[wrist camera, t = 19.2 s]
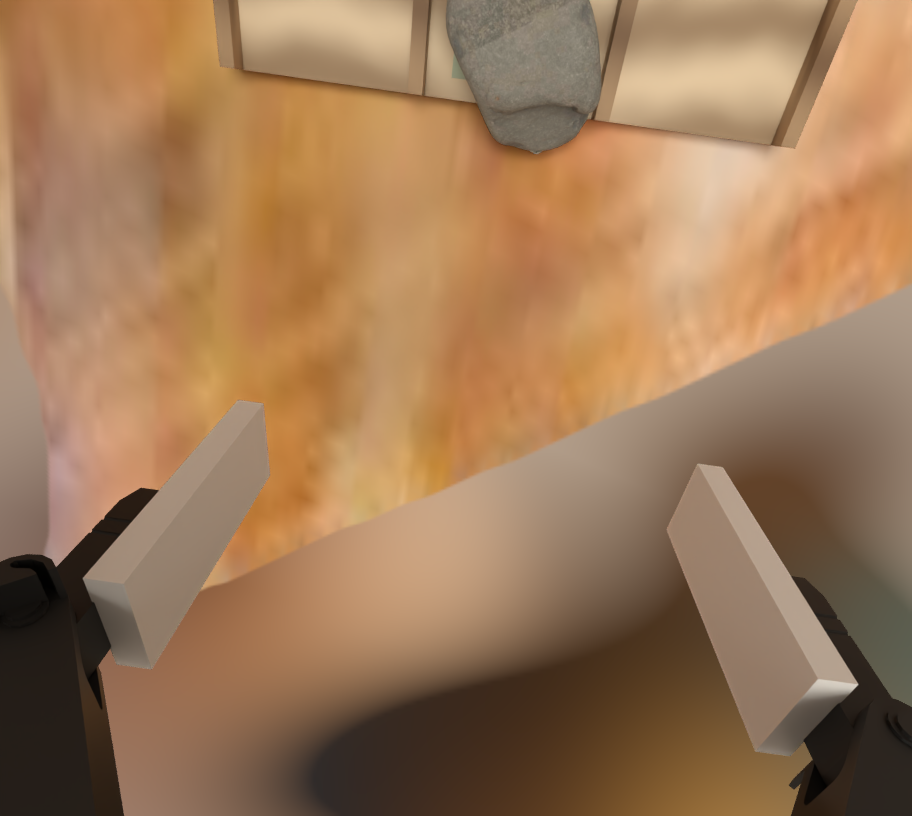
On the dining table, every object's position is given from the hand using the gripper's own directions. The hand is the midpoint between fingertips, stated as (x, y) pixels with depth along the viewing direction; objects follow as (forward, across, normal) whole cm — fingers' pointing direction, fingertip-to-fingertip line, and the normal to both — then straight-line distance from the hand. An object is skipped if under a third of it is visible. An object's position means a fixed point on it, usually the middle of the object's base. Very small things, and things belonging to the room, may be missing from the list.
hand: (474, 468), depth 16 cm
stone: (+30, 0, +12) cm, 32 cm away
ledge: (+32, 0, +15) cm, 35 cm away
